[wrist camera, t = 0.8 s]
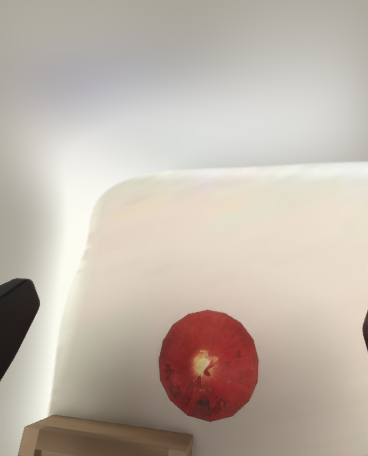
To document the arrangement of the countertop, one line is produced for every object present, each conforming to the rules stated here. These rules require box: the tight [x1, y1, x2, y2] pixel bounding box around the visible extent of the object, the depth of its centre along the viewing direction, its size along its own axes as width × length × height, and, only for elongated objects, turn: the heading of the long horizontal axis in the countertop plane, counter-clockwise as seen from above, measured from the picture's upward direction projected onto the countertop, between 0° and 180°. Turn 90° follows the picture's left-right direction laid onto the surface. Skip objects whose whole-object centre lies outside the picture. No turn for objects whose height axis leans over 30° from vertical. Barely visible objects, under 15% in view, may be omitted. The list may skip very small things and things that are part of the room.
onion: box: [159, 310, 258, 422], centre depth 17 cm, size 6×6×8 cm
